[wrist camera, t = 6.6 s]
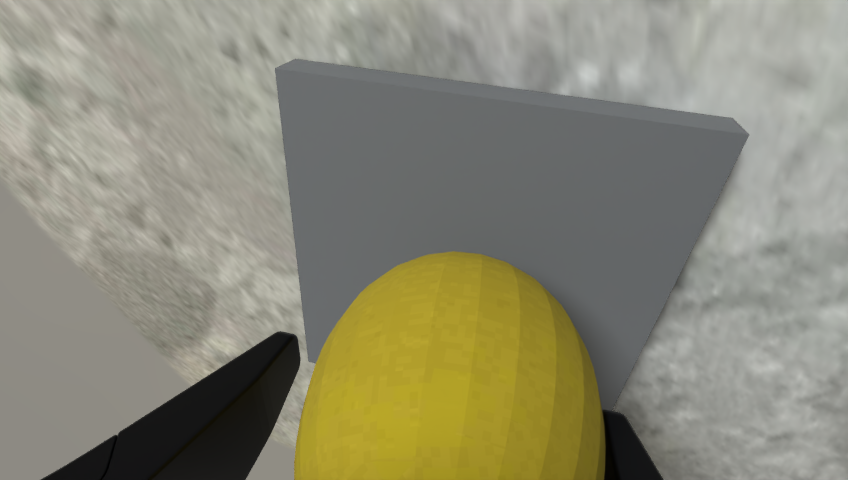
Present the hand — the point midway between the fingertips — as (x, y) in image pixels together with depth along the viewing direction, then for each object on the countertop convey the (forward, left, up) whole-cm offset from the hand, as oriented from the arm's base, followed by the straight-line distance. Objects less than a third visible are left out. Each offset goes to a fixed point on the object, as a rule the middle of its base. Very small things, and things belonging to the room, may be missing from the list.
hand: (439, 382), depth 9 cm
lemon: (0, 0, -4) cm, 4 cm away
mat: (0, 0, -4) cm, 5 cm away
